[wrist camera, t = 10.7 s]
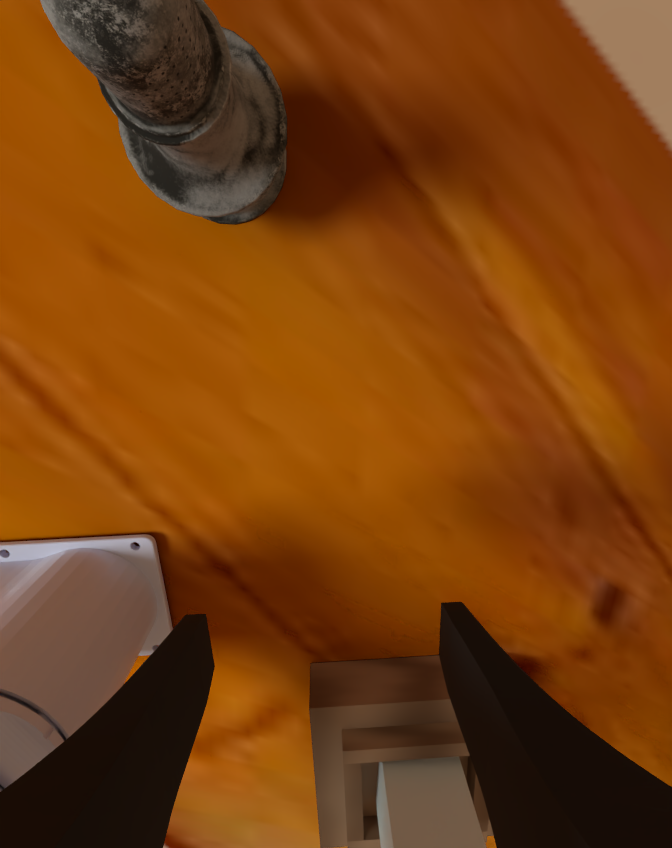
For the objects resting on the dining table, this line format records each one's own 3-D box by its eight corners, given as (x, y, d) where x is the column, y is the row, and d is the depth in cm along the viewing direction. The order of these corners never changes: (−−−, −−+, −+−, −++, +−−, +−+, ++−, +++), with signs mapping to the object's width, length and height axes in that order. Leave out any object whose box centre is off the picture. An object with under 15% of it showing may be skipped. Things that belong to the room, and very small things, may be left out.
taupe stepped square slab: (320, 794, 30) (320, 873, 26) (310, 663, 26) (308, 730, 22) (486, 783, 30) (512, 858, 26) (498, 651, 26) (530, 714, 22)
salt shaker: (302, 92, 17) (266, -315, 6) (284, 243, 19) (227, 157, 7) (159, 61, 17) (-190, -451, 5) (153, 218, 18) (-124, 85, 7)
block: (375, 799, 26) (391, 944, 20) (380, 746, 24) (398, 885, 18) (447, 798, 26) (483, 941, 20) (455, 745, 24) (497, 882, 19)
